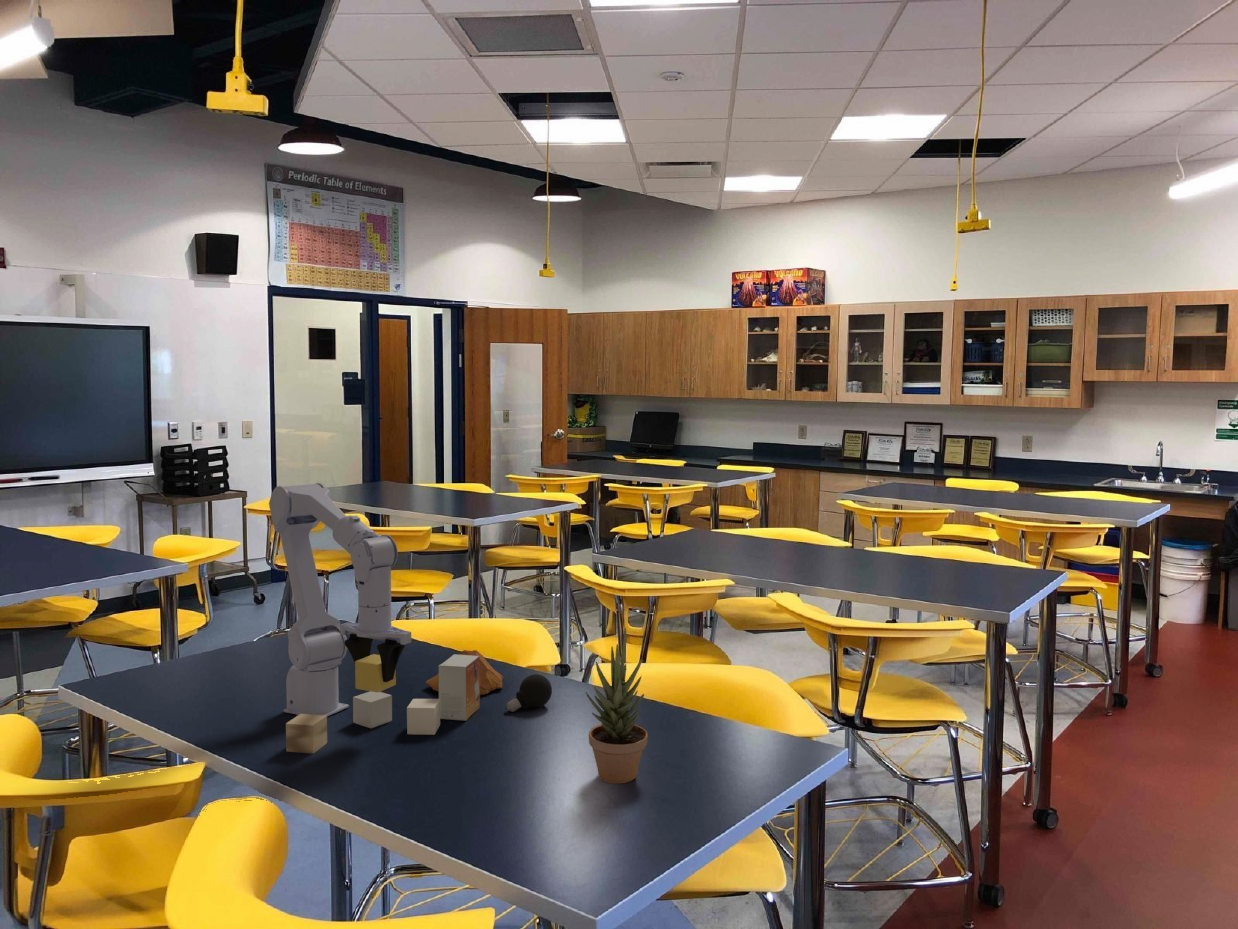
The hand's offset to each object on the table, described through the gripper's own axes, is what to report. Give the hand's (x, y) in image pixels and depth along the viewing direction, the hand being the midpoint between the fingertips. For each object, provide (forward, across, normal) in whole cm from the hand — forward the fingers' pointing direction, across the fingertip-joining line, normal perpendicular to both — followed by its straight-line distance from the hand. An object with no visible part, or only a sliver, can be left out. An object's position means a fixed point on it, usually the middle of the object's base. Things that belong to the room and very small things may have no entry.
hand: (375, 678), depth 171 cm
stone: (+11, -1, +30) cm, 32 cm away
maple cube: (+10, -7, -10) cm, 16 cm away
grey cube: (+10, -5, +5) cm, 13 cm away
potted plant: (+11, +47, +3) cm, 48 cm away
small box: (+11, +7, +16) cm, 20 cm away
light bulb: (+11, +18, +25) cm, 32 cm away
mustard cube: (+2, 0, 0) cm, 2 cm away
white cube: (+10, +6, +6) cm, 14 cm away
